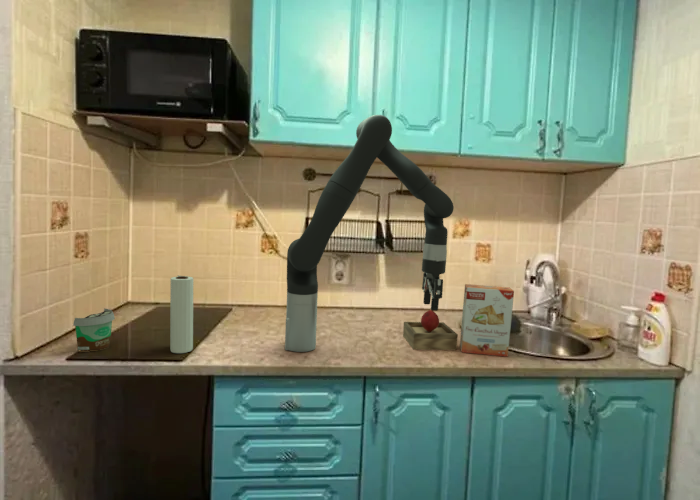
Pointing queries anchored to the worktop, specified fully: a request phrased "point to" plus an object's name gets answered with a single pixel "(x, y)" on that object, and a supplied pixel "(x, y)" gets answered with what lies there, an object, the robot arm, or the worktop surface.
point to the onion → (430, 320)
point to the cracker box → (486, 320)
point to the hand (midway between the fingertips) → (430, 307)
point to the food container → (94, 330)
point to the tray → (430, 337)
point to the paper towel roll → (181, 314)
